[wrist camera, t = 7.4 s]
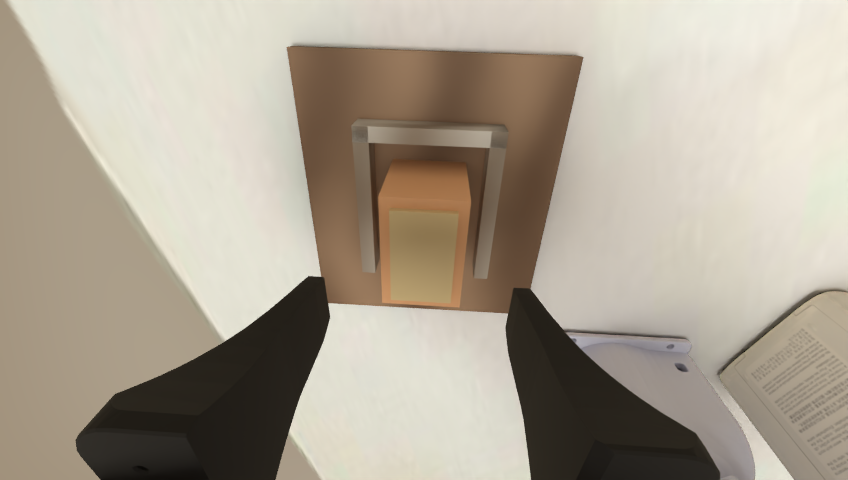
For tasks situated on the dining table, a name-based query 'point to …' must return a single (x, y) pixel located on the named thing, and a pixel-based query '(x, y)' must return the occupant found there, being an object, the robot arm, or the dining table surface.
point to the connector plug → (423, 232)
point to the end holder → (431, 155)
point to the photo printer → (800, 388)
